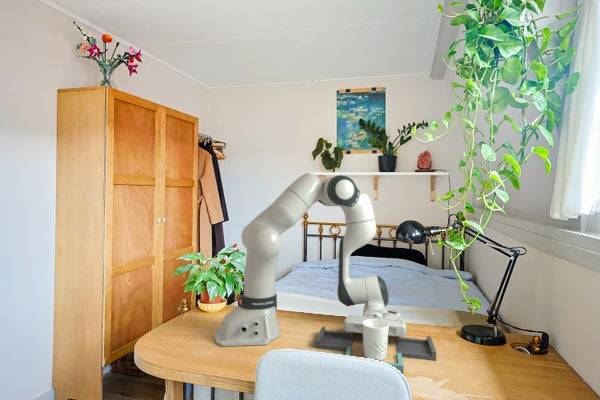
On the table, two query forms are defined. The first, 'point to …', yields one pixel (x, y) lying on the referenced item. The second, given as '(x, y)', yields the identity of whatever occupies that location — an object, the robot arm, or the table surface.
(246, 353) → the table surface
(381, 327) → the white cup
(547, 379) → the table surface
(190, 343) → the table surface
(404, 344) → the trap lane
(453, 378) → the table surface
